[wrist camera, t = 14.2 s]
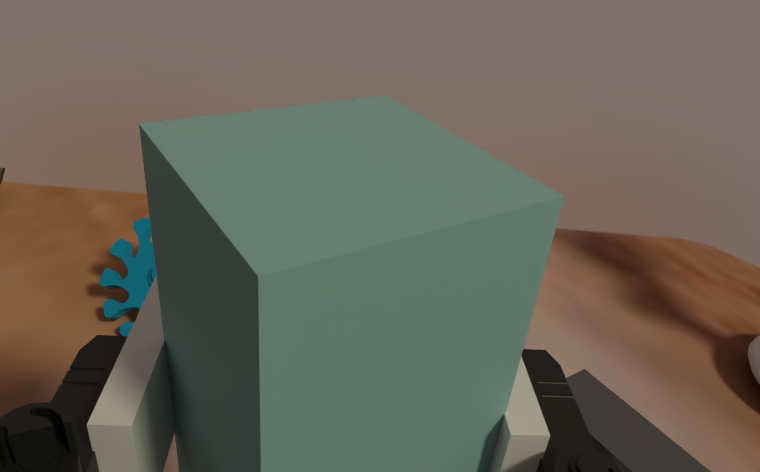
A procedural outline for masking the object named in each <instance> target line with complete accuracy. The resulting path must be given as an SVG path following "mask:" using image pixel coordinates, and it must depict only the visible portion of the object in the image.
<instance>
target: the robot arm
mask: <svg viewBox="0 0 760 472" xmlns="http://www.w3.org/2000/svg"><path fill="white" fill-rule="evenodd" d="M174 432H175V424H174V416H173V407H172V398H171V390H170V381H169V372H168V363H167V355H166V346H165V339H164V335H163V327H162V318H161V309H160V301H159V292H158V283H157V275H156V277H155V279H154V281H153V283H152V285H151V288H150V290H149V292H148V294H147V296H146V298H145V300H144V303H143V305H142V307H141V309H140V311H139V313H138V315H137V318H136V320H135V322H134V324H133V326H132V328H131V331H130V333H129V335H128V336H107V335H97V336H96V337H95V338H93V339H92V340H91V341H90V342H89V343H87V344H86V345H85V346H84V347H83V348H82V349H80V350H79V352H78V354H77V356H76V358H75V359H74V361H73V363H72V365H71V367H70V371H68V372H67V374H66V376H65V378H64V379H63V381H62V385H60V387H59V388H58V390H57V392H56V394H55V396H54V397H53V399H52V401H51V403H47V402H45V403H33V404H28V405H25V406H22V407H19V408H16V409H14V410H12V411H10V412H9V413H7V414H5V415H4V416H2V417H0V472H163V469H164V465H165V462H166V459H167V455H168V452H169V449H170V446H171V442H172V439H173V436H174ZM489 472H621V470H620V469H619V468H618V466H617V465H616V463H615V462H614V461H613V460H612V459H610V458H609V457H608V456H607V455H605V454H604V453H603V452H601V451H598V450H597V448H596V447H595V444H594V442H593V440H592V437H591V435H590V433H589V430H588V428H587V426H586V424H585V421H584V419H583V417H582V414H581V412H580V410H579V407H578V405H577V403H576V401H575V399H573V394H572V391H571V389H570V387H569V385H567V380H566V378H565V375H564V373H563V371H562V368H561V366H560V364H559V363H558V362H557V361H556V360H555V359H554V358H553V357H552V356H551V355H550V354H549V353H548V352H547V351H546V350H529V349H523V351H522V355H521V359H520V362H519V366H518V370H517V373H516V377H515V381H514V384H513V388H512V392H511V396H510V399H509V403H508V407H507V410H506V413H504V417H503V421H502V424H501V428H500V432H499V435H498V439H497V443H496V447H495V450H494V454H493V458H492V461H491V465H490V469H489Z"/></svg>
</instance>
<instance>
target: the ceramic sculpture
mask: <svg viewBox="0 0 760 472" xmlns="http://www.w3.org/2000/svg"><path fill="white" fill-rule="evenodd" d="M4 171H5V168H0V184H1V182H2V180H3V179H2V178H3V175H4Z"/></svg>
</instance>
